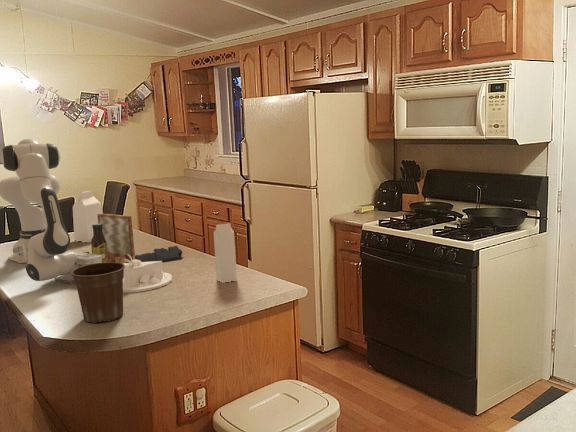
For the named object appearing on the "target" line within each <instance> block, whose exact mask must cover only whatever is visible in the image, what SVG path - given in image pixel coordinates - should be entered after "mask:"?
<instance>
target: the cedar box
mask: <svg viewBox="0 0 576 432" xmlns="http://www.w3.org/2000/svg"><path fill="white" fill-rule="evenodd" d="M97 217H98V224H102V226H103V227H102V231H103V235H104V237H105V240H106V242H107V252H108V262H115V257H118V256H120V259H119V262H121V260H122V257H123V256H126V259H128V260H130V261H131V259H130V257H129V256H128V255H127V254H129V255H130V256H131V258H132V260H135V255H136V253H135V243H134V242H135V241H134V232H133V229H134V228H133V221H132V216H131V215H123V214H122V215H121V214H113V213H112V214H111V213H103V214H100V213H99V214H97ZM126 263H129V262H126ZM79 267H80V266H79Z"/></svg>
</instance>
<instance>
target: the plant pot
mask: <svg viewBox="0 0 576 432" xmlns="http://www.w3.org/2000/svg"><path fill="white" fill-rule="evenodd" d="M124 268H125V265H124V264H122V263H117V262H104V263H95V264H89V265H85V266H81V267H78V268H76V269H74V270H73V271H71V275H72V276H73V278H74V282H75V283H74V285H75V286H76V290H77V294H78V299H79V304H80V308H81V312H82V318H83V320H84V322H86V321H87V322H86V323H89V322H91V323H90V324H98V323H97V322H100V323H101V322H105V321H108V322H110V321H109V320H112V321H114V320H113V319H115V320H117V319H116V318H118V317H119V318H121V317H122V316H123V315H124V293H123V278H124ZM120 316H121V317H120ZM119 318H118V319H119Z"/></svg>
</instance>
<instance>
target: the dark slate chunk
mask: <svg viewBox="0 0 576 432" xmlns="http://www.w3.org/2000/svg"><path fill="white" fill-rule="evenodd" d="M182 254H183V250H182V249H180V248H179V247H178V245H173V246H172V245H171V246H168V247H167V248H164V247H161V248H154V249H153V252H147V253H142V254H135V255H134V256H135V259H137V260H140V261H141V262H152V261H162V264H163V263H167V262H168V263H169V262H174V261H181V260H183V259H184V257H183V255H182Z"/></svg>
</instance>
